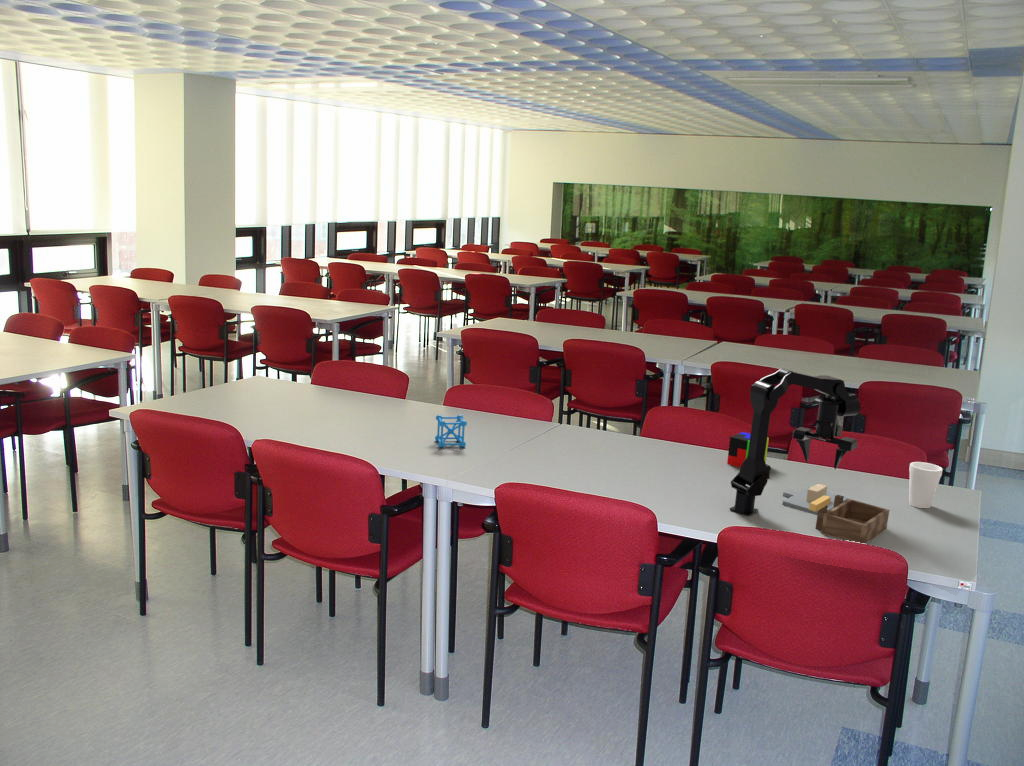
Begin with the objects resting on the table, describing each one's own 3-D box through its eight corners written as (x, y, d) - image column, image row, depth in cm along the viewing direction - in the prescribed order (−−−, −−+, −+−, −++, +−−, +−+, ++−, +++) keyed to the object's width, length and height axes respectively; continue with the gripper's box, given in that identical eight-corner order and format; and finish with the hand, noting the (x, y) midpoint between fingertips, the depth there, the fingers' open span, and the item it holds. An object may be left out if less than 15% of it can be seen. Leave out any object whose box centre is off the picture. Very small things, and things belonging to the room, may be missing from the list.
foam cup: (897, 502, 290) (904, 464, 287) (914, 498, 295) (920, 460, 292) (925, 512, 282) (932, 472, 279) (941, 507, 287) (948, 468, 284)
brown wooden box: (862, 546, 252) (866, 521, 250) (811, 530, 261) (815, 507, 259) (886, 529, 266) (890, 505, 264) (837, 515, 275) (840, 492, 273)
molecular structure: (438, 448, 319) (439, 421, 317) (434, 440, 329) (435, 413, 326) (466, 448, 321) (467, 421, 319) (461, 440, 331) (462, 413, 329)
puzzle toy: (739, 458, 328) (742, 431, 326) (765, 464, 322) (768, 438, 320) (727, 463, 321) (730, 436, 318) (753, 470, 315) (756, 443, 312)
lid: (822, 516, 274) (825, 500, 272) (771, 501, 284) (774, 485, 283) (847, 501, 288) (850, 486, 287) (798, 487, 299) (800, 472, 298)
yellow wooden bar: (815, 511, 255) (816, 505, 254) (809, 509, 256) (809, 503, 256) (829, 503, 262) (830, 497, 262) (823, 501, 264) (824, 495, 263)
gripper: (867, 418, 279) (860, 467, 282) (809, 406, 291) (803, 453, 294) (853, 425, 271) (846, 474, 274) (794, 412, 282) (788, 459, 286)
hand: (821, 465), depth 282 cm, fingers open, 9 cm apart
